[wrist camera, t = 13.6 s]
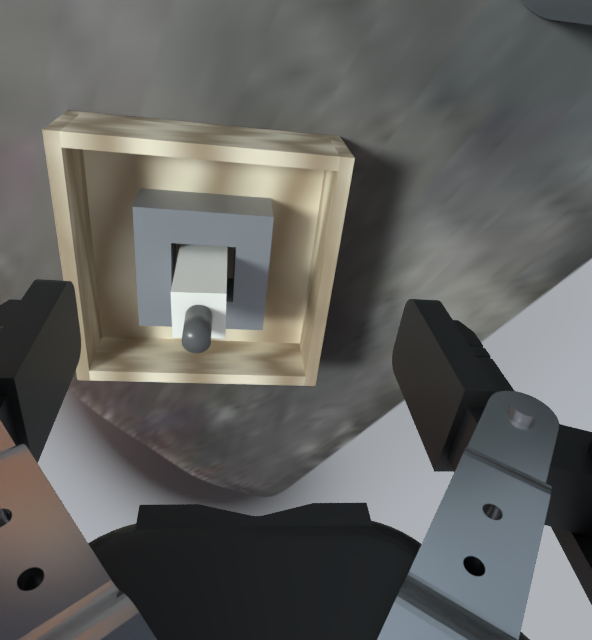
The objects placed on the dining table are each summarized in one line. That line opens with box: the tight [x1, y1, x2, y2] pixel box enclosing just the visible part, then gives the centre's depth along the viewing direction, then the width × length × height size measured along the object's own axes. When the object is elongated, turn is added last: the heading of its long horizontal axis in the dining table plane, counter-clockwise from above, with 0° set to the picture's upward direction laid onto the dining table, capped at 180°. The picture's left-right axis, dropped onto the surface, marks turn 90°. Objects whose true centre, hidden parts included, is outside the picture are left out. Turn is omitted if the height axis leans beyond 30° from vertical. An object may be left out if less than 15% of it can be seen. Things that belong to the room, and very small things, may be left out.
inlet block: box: [132, 188, 274, 330], centre depth 41 cm, size 10×10×4 cm
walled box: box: [42, 110, 355, 386], centre depth 41 cm, size 20×20×6 cm
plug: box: [171, 244, 228, 353], centre depth 38 cm, size 4×4×13 cm
